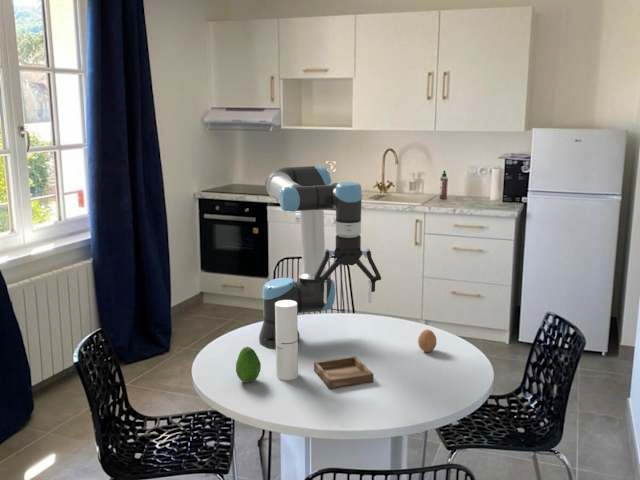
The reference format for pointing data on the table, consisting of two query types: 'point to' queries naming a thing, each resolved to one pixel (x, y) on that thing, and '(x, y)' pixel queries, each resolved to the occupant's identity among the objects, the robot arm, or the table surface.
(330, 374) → the tray
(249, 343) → the table surface
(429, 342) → the egg
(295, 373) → the cylindrical container
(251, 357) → the avocado
